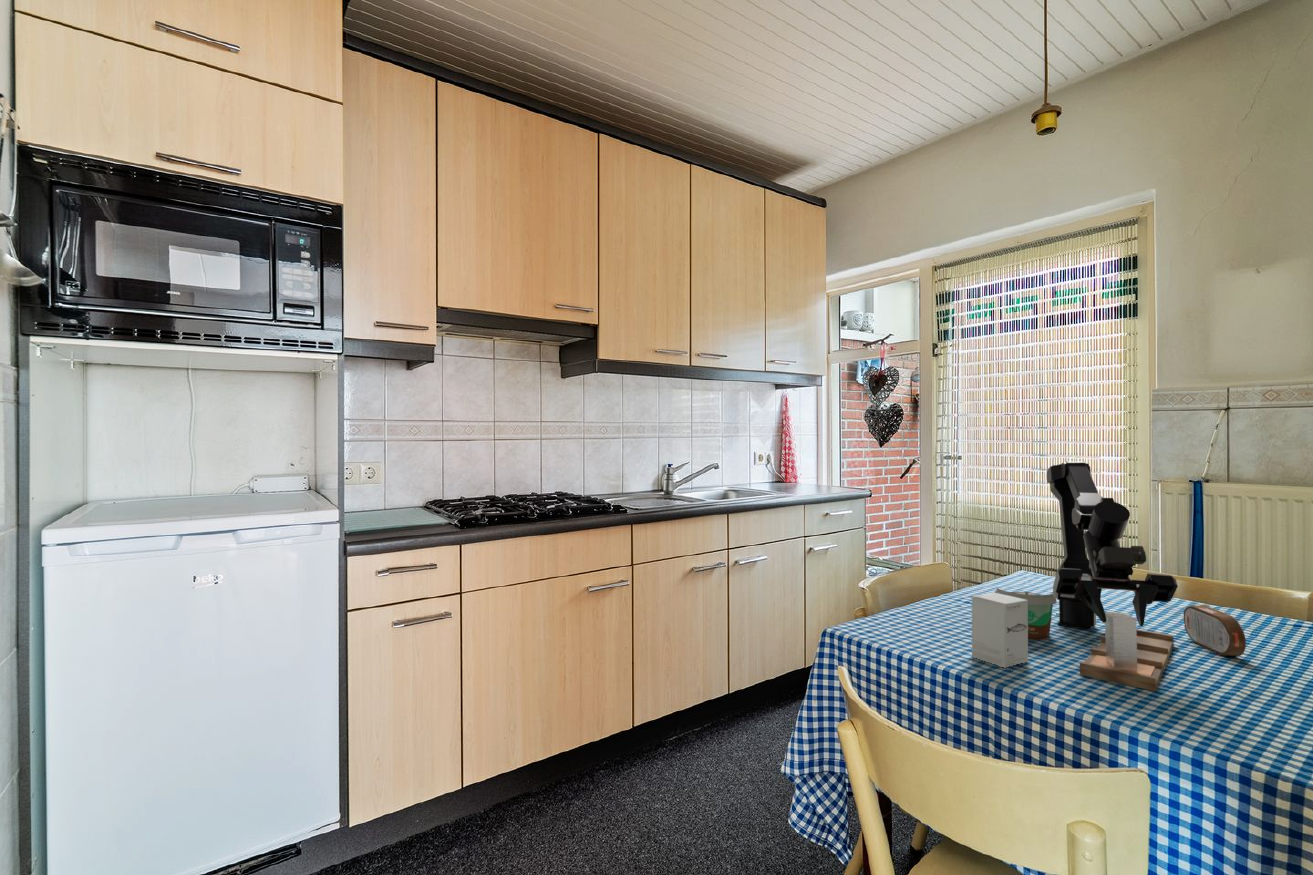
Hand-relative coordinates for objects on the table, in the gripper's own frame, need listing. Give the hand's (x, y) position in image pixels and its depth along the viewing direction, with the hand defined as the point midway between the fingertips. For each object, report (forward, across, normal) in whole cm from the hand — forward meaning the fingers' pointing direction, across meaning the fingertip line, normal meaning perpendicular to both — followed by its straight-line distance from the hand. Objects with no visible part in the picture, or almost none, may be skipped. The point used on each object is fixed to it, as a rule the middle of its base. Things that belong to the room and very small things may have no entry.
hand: (1123, 623), depth 112 cm
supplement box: (+6, -20, +8) cm, 23 cm away
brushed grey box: (+5, 0, +7) cm, 9 cm away
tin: (-11, +22, +25) cm, 36 cm away
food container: (-7, -12, +22) cm, 26 cm away
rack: (-1, +4, +15) cm, 16 cm away
